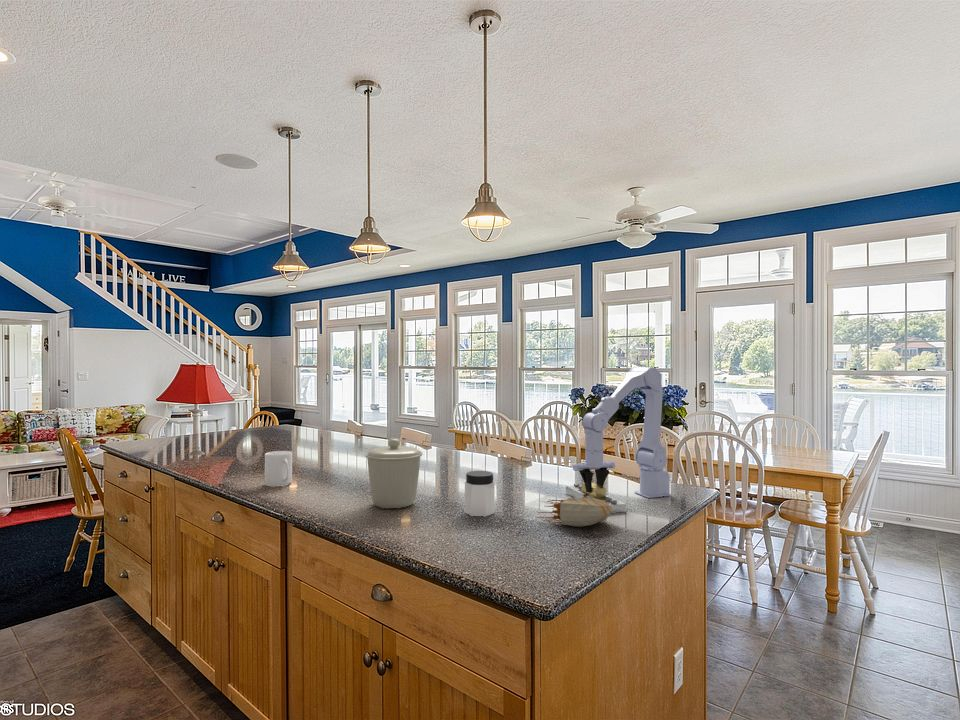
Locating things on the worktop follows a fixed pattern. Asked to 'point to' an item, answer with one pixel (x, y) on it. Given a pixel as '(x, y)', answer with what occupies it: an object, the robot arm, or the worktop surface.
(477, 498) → the jar
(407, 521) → the worktop surface
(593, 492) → the tan wooden block
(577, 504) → the nautilus
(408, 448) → the canister
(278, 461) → the mug
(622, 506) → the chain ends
